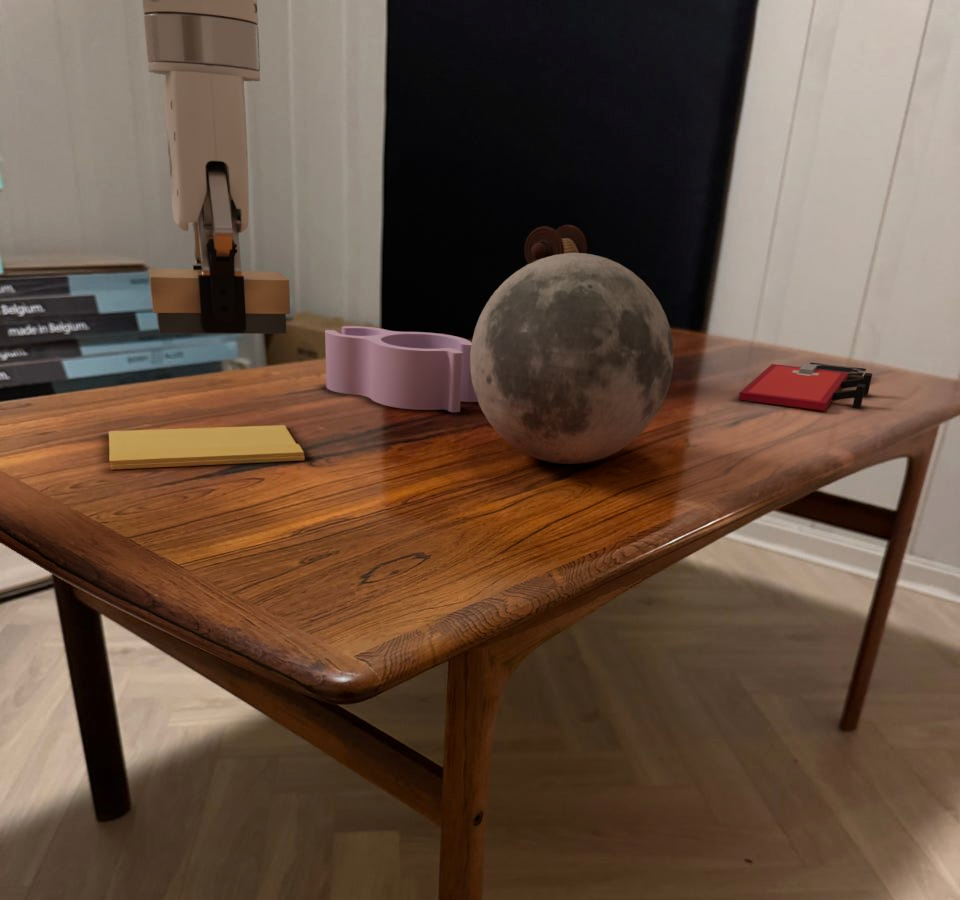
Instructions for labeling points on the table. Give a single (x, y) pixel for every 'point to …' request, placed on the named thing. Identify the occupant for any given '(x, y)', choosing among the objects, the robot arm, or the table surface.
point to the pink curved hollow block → (400, 367)
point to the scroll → (554, 242)
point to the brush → (182, 309)
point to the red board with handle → (807, 385)
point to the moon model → (571, 358)
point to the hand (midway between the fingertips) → (220, 322)
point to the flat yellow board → (201, 446)
